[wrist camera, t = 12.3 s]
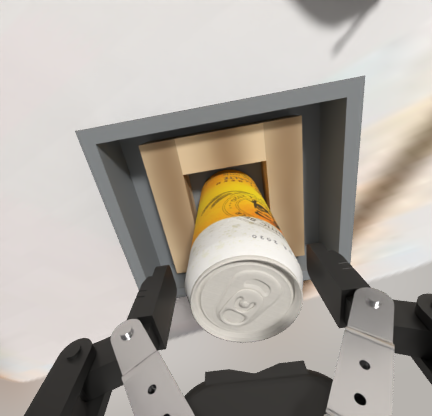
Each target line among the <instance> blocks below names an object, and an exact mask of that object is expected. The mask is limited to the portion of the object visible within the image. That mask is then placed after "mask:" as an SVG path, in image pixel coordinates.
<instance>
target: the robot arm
mask: <svg viewBox="0 0 432 416" xmlns="http://www.w3.org/2000/svg"><path fill="white" fill-rule="evenodd" d="M306 256H307V271H308V275H309V277H310V279H311V281H312V282H313V284H314V286H315V287H316V289H317V291H318V293H319V294H320V296H321V298H322V300H323V301H324V303H325V305H326V307H327V308H328V310H329V312H330V313H331V315H332V317H333V318H334V320H335V322H336V324H337V326H338V327H339V328H344V327H345V331H344V335H343V340H342V344H341V348H340V353H339V357H338V361H337V365H336V370H335V374H334V378H333V380H332V379H331V378H329V377H327V376H325V375H323V374H321V373H319V372H316V371H312V370H308V369H306V366H305V364H304V361H296V362H288V363H279V364H277V365H274V366H272V367H270V368H267V369H265V370H262V371H260V372H258V373H248V372H242V371H235V370H230V369H228V370H219V371H211V372H205V381H204V382H202V383H201V384H199V385H197V386H195V387H194V388H193V389H191V390H190V391H189V392H188V393H187V394H186V395H185V396H183V394H182V392H181V390H180V389H179V387H178V385H177V383H176V382H175V380H174V378H173V376H172V374H171V373H170V371H169V369H168V367H167V366H166V364H165V362H164V360H163V359H162V357H161V355H160V353H159V352H158V350H163V349H166V346H167V341H168V336H169V331H170V326H171V321H172V316H173V311H174V306H175V301H176V296H177V287H176V283H175V280H174V277H173V274H172V270H171V267H170V265H164V266H157V267H156V268H155V270H154V273H153V275H152V276H149V277H147V278H146V279H145V281H144V282H143V283H142V284H141V287H140V289H139V292H138V294H137V296H136V297H137V298H136V299H135V301H134V304H133V306H132V308H131V311H130V313H129V316H128V318H127V320H126V321H124V322H122V323H121V324H120V325H118V326H117V327H116V328H115V330H114V331H113V333H112V335H111V336H110V337H108V338H106V339H104V340H101V341H99V342H96V343H94V344H92V342H91V341H90V340H89V339H87V338H81V339H78V340H76V341H74V342H72V343H71V344H69V345H68V346H67V347H66V348H65V349H64V350H63V351H62V352H61V353H60V355H59V356H58V358H57V360H56V361H55V363H54V365H53V366H52V368H51V370H50V372H49V373H48V375H47V377H46V379H45V380H44V382H43V384H42V385H41V387H40V389H39V391H38V392H37V394H36V396H35V397H34V399H33V401H32V403H31V404H30V406H29V408H28V410H27V411H26V413H25V415H24V416H104V414H105V411H106V408H107V404H108V402H109V398H110V395H111V392H112V390H113V389H115V388H117V387H120V386H122V385H124V387H125V390H126V393H127V395H128V399H129V401H130V405H131V407H132V410H133V413H134V416H392V408H393V379H394V353H398V354H403V355H408V356H411V357H412V359H413V360H414V361H415V363H416V364H417V365H418V367H419V368H420V369H421V371H422V372H423V374H424V375H425V376H426V378H427V379H428V380H429V382H430V383H431V384H432V294H423V295H421V296H419V297H418V299H417V302H407V301H398V300H393V299H391V298H390V297H389V296H388V295H387V294H386V293H384V292H382V291H380V290H378V289H374V288H371V287H370V286H369V285H368V284H367V283H366V281H365V280H364V279H363V278H362V277H361V276H360V275H359V274H358V272H357V271H356V270H355V269H354V268H352V266H351V265H350V264H349V263H348V261H347V260H346V259H345V258H344V257H343V256H342V255H341V254H339V253H338V252H336V251H334V250H329V251H328V250H327V248H326V247H325V246H324V245H323V244H322V243H314V244H308V245H307V247H306Z"/></svg>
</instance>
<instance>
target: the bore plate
mask: <svg viewBox="0 0 432 416" xmlns="http://www.w3.org/2000/svg"><path fill="white" fill-rule="evenodd" d="M139 149H140V153H141V156H142V159H143V162H144V166H145V169H146V172H147V176H148V179H149V182H150V186H151V189H152V192H153V195H154V199H155V202H156V205H157V209H158V212H159V215H160V219H161V222H162V225H163V228H164V232H165V235H166V238H167V242H168V245H169V248H170V252H171V255H172V258H173V261H174V265H175V268H176V271H177V273H184V272H187V267H188V261H189V256H190V251H191V245H192V240H193V234H194V229H195V223H196V218H197V210H196V206H195V201H194V197H193V192H192V188H191V184H190V179H189V175H188V174H192V173H197V172H203V171H209V170H215V169H221V168H226V167H232V166H238V165H244V164H250V163H255V162H261V171H262V181H263V192H264V201H265V202H266V204H267V206H268V208H269V210H270V212H271V213H272V215H273V217H274V219H275V221H276V222H277V224H278V226H279V228H280V230H281V232H282V233H283V235H284V237H285V239H286V241H287V243H288V244H289V246H290V248H291V250H292V252H293V253H294V255H295V257H296V256H303V255H305V252H304V202H303V151H302V116H299V115H289V116H284V117H278V118H273V119H267V120H262V121H257V122H251V123H246V124H240V125H235V126H229V127H224V128H219V129H213V130H208V131H202V132H197V133H191V134H186V135H181V136H175V137H170V138H164V139H159V140H154V141H148V142H146V143H143V144H141V145H139Z"/></svg>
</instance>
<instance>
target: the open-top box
mask: <svg viewBox="0 0 432 416" xmlns="http://www.w3.org/2000/svg"><path fill="white" fill-rule="evenodd" d="M364 84H365V76H360V77H355V78H350V79H345V80H340V81H334V82H329V83H324V84H319V85H314V86H308V87H303V88H298V89H293V90H287V91H282V92H277V93H272V94H267V95H261V96H256V97H251V98H246V99H241V100H235V101H230V102H225V103H220V104H215V105H209V106H204V107H199V108H194V109H189V110H183V111H178V112H173V113H168V114H162V115H157V116H152V117H147V118H142V119H136V120H131V121H126V122H121V123H116V124H110V125H105V126H100V127H95V128H90V129H84V130H79V131H75V132H76V135H77V137H78V140H79V142H80V145H81V147H82V150H83V152H84V155H85V157H86V160H87V162H88V165H89V167H90V170H91V172H92V175H93V177H94V180H95V182H96V185H97V187H98V189H99V192H100V194H101V197H102V199H103V202H104V204H105V207H106V209H107V212H108V214H109V217H110V219H111V222H112V224H113V227H114V229H115V232H116V234H117V237H118V239H119V242H120V244H121V247H122V249H123V252H124V254H125V257H126V259H127V262H128V264H129V267H130V269H131V272H132V274H133V276H134V279H135V281H136V284H137V286H138V289H140V287H141V284H142V283H143V282H144V281H145V279H146V278H147V277H149V276H152V275H153V273H154V270H155V268H156V267H157V266H164V265H170V267H171V270H172V274H173V277H174V280H175V283H176V287H177V296H176V298H178V297H185V296H187V295H186V292H185V278H186V272H184V273H177V271H176V268H175V265H174V261H173V258H172V255H171V252H170V248H169V245H168V242H167V238H166V235H165V232H164V228H163V225H162V222H161V219H160V215H159V212H158V209H157V205H156V202H155V199H154V195H153V192H152V189H151V186H150V182H149V179H148V176H147V172H146V169H145V166H144V162H143V159H142V156H141V153H140V149H139V145H141V144H143V143H146V142H148V141H154V140H159V139H164V138H170V137H175V136H181V135H186V134H191V133H197V132H202V131H208V130H213V129H219V128H224V127H229V126H235V125H240V124H246V123H251V122H257V121H262V120H267V119H273V118H278V117H284V116H289V115H299V116H302V151H303V202H304V252H305V255H303V256H296V259H297V261H298V263H299V265H300V267H301V270H302V274H303V280H310V277H309V275H308V271H307V256H306V247H307V245H308V244H314V243H322V244H323V245H324V246H325V247H326V248H327V250H328V251H329V250H334V251H336V252H338V253H339V254H341V255H342V256H343V257H344V258H345V259H346V260H347V261H348V263H349V264H350V261H351V249H352V236H353V223H354V211H355V198H356V185H357V173H358V160H359V148H360V135H361V122H362V110H363V97H364ZM223 170H238V171H241V172H243V173H245V174H247V175H248V176H249V177H251V179H252V180H253V181H254V182H255V184H256V186H257V188H258V190H259V192H260V193H261V195H262V197H263V199H264V192H263V181H262V171H261V162H255V163H250V164H244V165H238V166H232V167H226V168H221V169H215V170H209V171H203V172H197V173H192V174H188V175H189V179H190V184H191V188H192V192H193V197H194V201H195V206H196V210H197V212H198V207H199V201H200V196H201V191H202V188H203V185H204V184H205V182H206V181H207V180H208V179H209V178H210V177H211V176H212V175H213V174H215V173H217V172H219V171H223Z"/></svg>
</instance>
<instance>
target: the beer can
mask: <svg viewBox="0 0 432 416" xmlns="http://www.w3.org/2000/svg"><path fill="white" fill-rule="evenodd" d="M302 287H303V274H302V270H301V267H300V265H299V263H298V261H297V259H296V257H295V255H294V253H293V252H292V250H291V248H290V246H289V244H288V243H287V241H286V239H285V237H284V235H283V233H282V232H281V230H280V228H279V226H278V224H277V222H276V221H275V219H274V217H273V215H272V213H271V212H270V210H269V208H268V206H267V204H266V202H265V201H264V199H263V197H262V195H261V193H260V192H259V190H258V188H257V186H256V184H255V182H254V181H253V180H252V179H251V177H249V176H248V175H247V174H245V173H243V172H241V171H238V170H223V171H219V172H217V173H215V174H213V175H212V176H211V177H210V178H209V179H208V180H207V181H206V182H205V184H204V185H203V188H202V191H201V196H200V201H199V207H198V212H197V218H196V223H195V229H194V234H193V240H192V245H191V251H190V256H189V261H188V267H187V272H186V278H185V292H186V295H187V298H188V301H189V303H190V305H191V311H192V314H193V316H194V318H195V320H196V321H197V323H198V324H199V325H200V326H201V327H202V328H203V329H204V330H205V331H207V332H208V333H210V334H211V335H213V336H215V337H217V338H220V339H223V340H227V341H232V342H240V343H242V342H243V343H244V342H245V343H246V342H256V341H261V340H265V339H268V338H270V337H273V336H275V335H277V334H279V333H281V332H282V331H284V330H285V329H286V328H288V327H289V326H290V325H291V324H292V323H293V322H294V321H295V319H296V318H297V316H298V315H299V313H300V310H301V308H302V304H303V293H302Z"/></svg>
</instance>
